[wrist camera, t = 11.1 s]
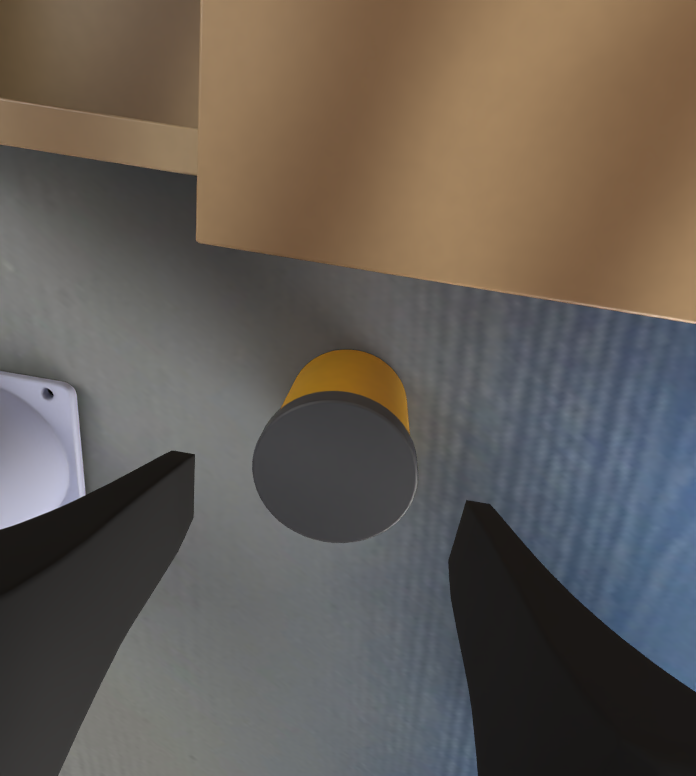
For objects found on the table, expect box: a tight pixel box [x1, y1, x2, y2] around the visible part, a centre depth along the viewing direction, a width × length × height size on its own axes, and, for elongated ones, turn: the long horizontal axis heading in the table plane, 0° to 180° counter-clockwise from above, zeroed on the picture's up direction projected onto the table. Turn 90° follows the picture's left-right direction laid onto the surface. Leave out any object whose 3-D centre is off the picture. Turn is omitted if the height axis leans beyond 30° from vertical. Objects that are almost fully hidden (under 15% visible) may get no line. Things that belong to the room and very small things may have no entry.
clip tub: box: [252, 350, 418, 543], centre depth 16 cm, size 5×5×5 cm
